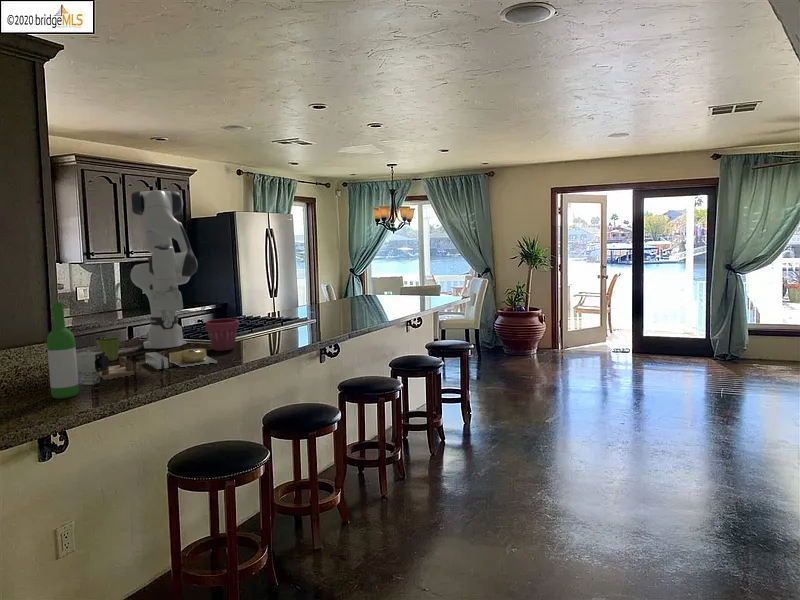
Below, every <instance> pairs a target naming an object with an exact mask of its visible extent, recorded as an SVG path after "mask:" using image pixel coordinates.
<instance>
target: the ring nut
mask: <svg viewBox="0 0 800 600" xmlns="http://www.w3.org/2000/svg"><path fill="white" fill-rule="evenodd" d="M168 356H169V358H168V361H169V363H171V364H173V363H172V362H179V361H181V362H198V361H203V360H206V359H207V356H208V354H207V349H206V348H189V349H184V350H180V351H175V352H174V351H173V352H169V353H168Z"/></svg>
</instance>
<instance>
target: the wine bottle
mask: <svg viewBox="0 0 800 600" xmlns="http://www.w3.org/2000/svg"><path fill="white" fill-rule="evenodd" d="M51 305H52V316H53V317H52V318H53V329H52V330H51V331H50V332H49V333H48V335H47V338H46V348H47V351H46V352H47V359H48V371H49V384H50V394H51V396H52V397H53V398H54V399H57V400H58V399H69V398H73V397H75V396H78V394H79V392H80V387H79V386H80V384H79V375H78V373H79V372H78V371H77V360H76V353H77V350H76V348H77V347H76V341H75V340H76V339H75V334H73V331H71V330H70V329H69V328H67V327H66V322H65V310H64V309H65V308H64V303H63V302H61V301H60V302H59V301H58V302H53V303H52V304H51Z"/></svg>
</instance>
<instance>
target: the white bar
mask: <svg viewBox="0 0 800 600" xmlns="http://www.w3.org/2000/svg"><path fill="white" fill-rule="evenodd" d="M144 355H145V356H144V357H145V364H147V363H148V364H149V365H148V364H147V365H148V366H150V365H151V366H153V367H154V368H153V367H152V368H153V369H155V368H156V369H163V368H169V358H168V357H166V356H164V355H162V354H160V353H158V352H157V351H153V352H145V353H144ZM151 366H150V367H151ZM162 367H163V368H162ZM156 369H155V370H156Z"/></svg>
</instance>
